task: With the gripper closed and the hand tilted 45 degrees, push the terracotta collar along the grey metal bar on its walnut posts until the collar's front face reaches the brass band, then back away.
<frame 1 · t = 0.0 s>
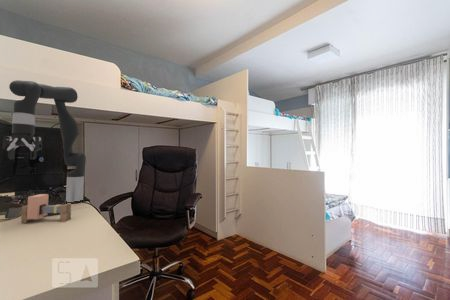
hand: (22, 159, 95), 29 cm above the table, tool pointing down, fingers open, 8 cm apart
calculator: (43, 215, 109), on the table
grey metal bar: (47, 209, 99), point 6 cm above the table
stand: (46, 220, 99), on the table
collar: (38, 206, 99), point 7 cm above the table, slide at 0.0 cm
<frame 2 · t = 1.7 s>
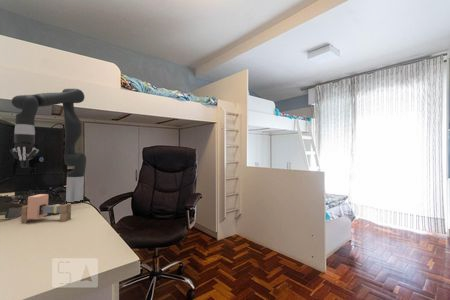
hand: (24, 167, 106), 25 cm above the table, tool pointing down, fingers closed
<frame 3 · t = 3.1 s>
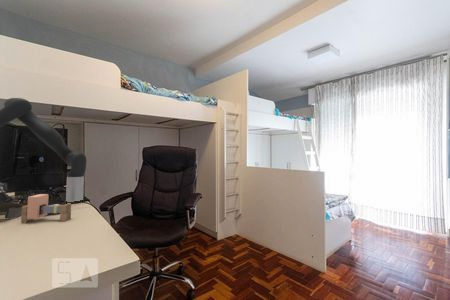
hand: (7, 199, 97), 10 cm above the table, tool tilted 45°, fingers closed
nothing on the table moved.
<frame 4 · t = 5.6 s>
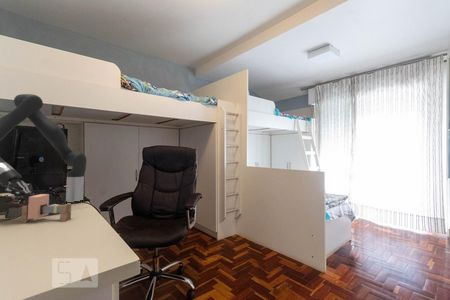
hand: (33, 200, 98), 10 cm above the table, tool tilted 45°, fingers closed
collar: (38, 206, 99), point 7 cm above the table, slide at 0.3 cm, touching gripper
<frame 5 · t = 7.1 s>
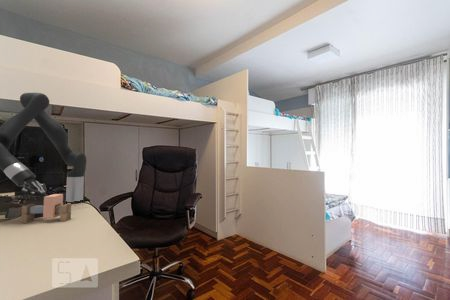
hand: (47, 200, 99), 10 cm above the table, tool tilted 45°, fingers closed
collar: (53, 205, 100), point 7 cm above the table, slide at 6.5 cm, touching gripper
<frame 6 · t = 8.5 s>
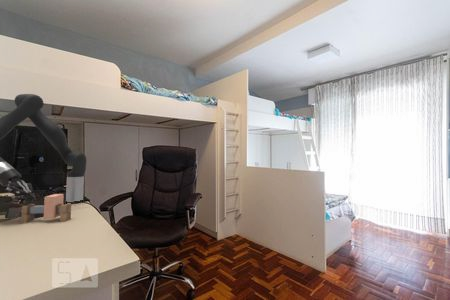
hand: (33, 199, 98), 10 cm above the table, tool tilted 45°, fingers closed
collar: (54, 205, 100), point 7 cm above the table, slide at 6.8 cm
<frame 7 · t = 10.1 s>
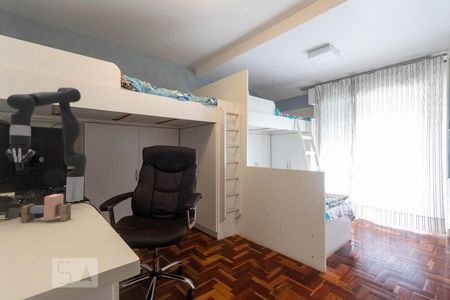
hand: (19, 169, 103), 24 cm above the table, tool pointing down, fingers closed
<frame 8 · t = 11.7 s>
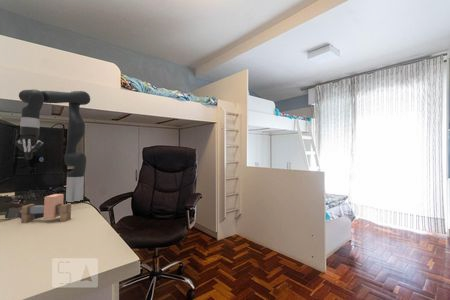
hand: (28, 159, 110), 29 cm above the table, tool pointing down, fingers closed
at the end: collar slide at 6.8 cm; the gripper is holding nothing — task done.
